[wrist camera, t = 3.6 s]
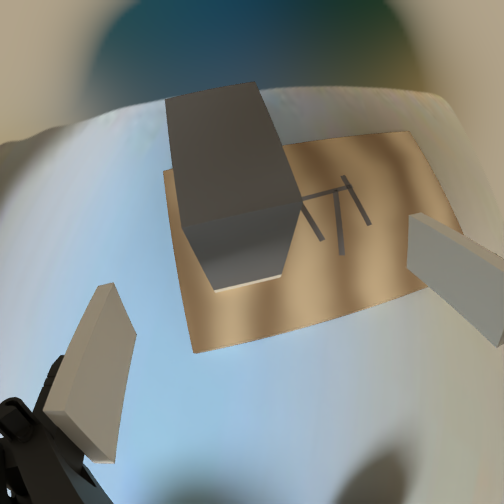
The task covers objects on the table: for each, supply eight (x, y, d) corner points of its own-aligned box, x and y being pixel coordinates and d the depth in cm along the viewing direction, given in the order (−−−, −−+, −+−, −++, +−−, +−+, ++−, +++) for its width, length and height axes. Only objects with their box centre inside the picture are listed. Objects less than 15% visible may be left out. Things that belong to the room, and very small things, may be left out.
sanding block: (196, 200, 25) (165, 99, 15) (254, 187, 26) (254, 81, 15) (215, 292, 23) (181, 227, 12) (280, 277, 23) (303, 200, 12)
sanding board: (196, 353, 22) (193, 353, 21) (166, 178, 28) (163, 171, 27) (469, 270, 24) (476, 266, 23) (405, 137, 30) (409, 131, 29)
